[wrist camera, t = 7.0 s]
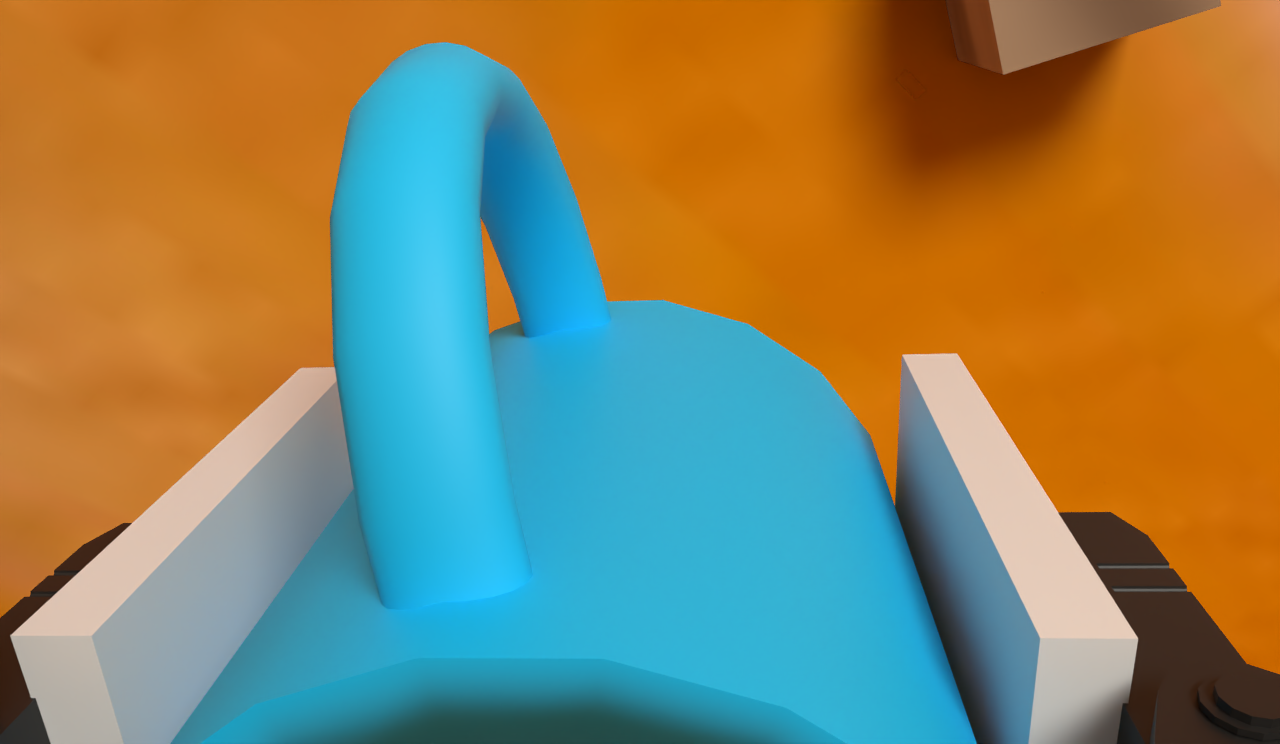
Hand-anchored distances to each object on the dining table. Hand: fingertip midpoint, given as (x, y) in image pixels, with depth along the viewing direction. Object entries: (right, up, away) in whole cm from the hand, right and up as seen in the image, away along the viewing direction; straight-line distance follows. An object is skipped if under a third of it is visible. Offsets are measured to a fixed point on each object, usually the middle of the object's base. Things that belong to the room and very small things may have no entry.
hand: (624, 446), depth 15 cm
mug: (0, 0, 0) cm, 1 cm away
